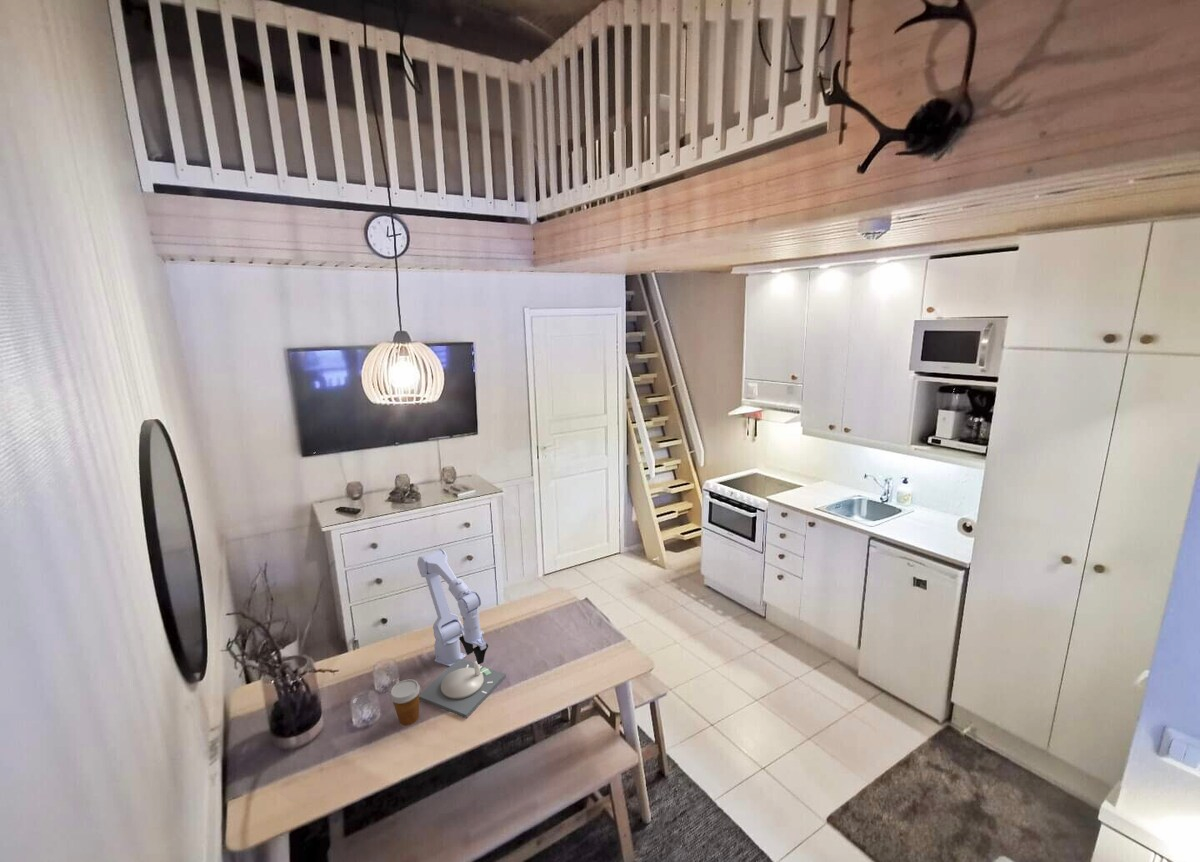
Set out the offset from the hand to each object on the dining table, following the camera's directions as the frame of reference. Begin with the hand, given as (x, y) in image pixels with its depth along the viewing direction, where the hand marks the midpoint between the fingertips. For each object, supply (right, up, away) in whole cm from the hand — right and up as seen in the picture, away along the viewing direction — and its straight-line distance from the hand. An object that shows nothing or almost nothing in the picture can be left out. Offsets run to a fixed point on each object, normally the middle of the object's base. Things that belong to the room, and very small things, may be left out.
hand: (475, 658), depth 195 cm
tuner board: (-4, -10, -2) cm, 11 cm away
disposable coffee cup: (-19, -14, -15) cm, 28 cm away
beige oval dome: (-3, -8, -1) cm, 9 cm away
